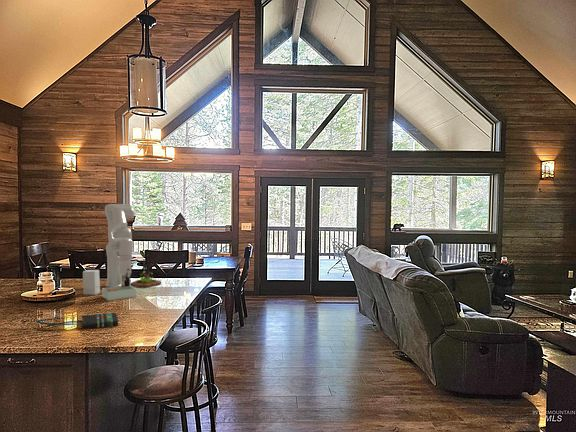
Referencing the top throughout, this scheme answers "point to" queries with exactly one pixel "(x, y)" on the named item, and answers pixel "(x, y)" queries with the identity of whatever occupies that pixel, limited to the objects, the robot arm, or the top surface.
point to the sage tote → (119, 293)
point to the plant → (145, 281)
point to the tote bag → (88, 321)
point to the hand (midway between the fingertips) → (125, 285)
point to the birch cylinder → (123, 282)
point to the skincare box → (91, 282)
